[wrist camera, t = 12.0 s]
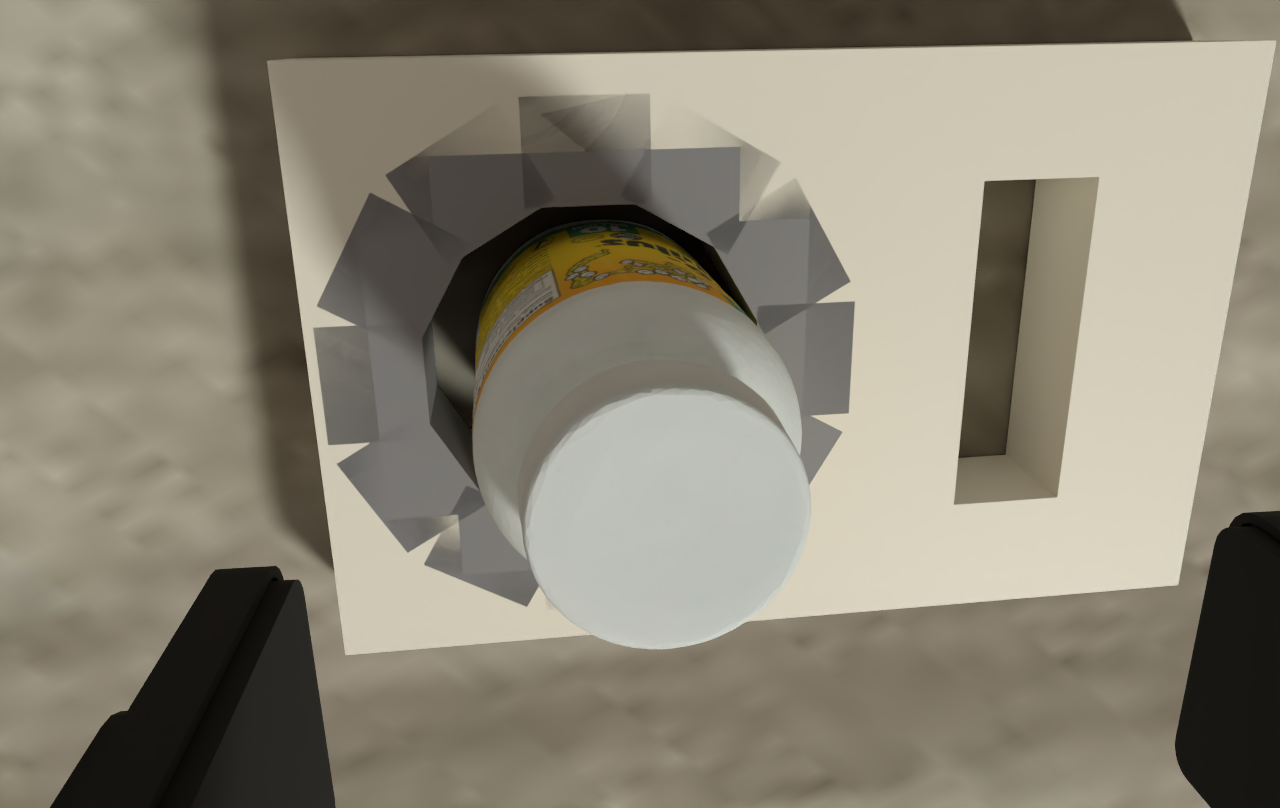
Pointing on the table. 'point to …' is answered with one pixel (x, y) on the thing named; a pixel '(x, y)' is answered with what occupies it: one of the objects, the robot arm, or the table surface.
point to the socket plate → (792, 296)
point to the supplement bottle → (636, 437)
